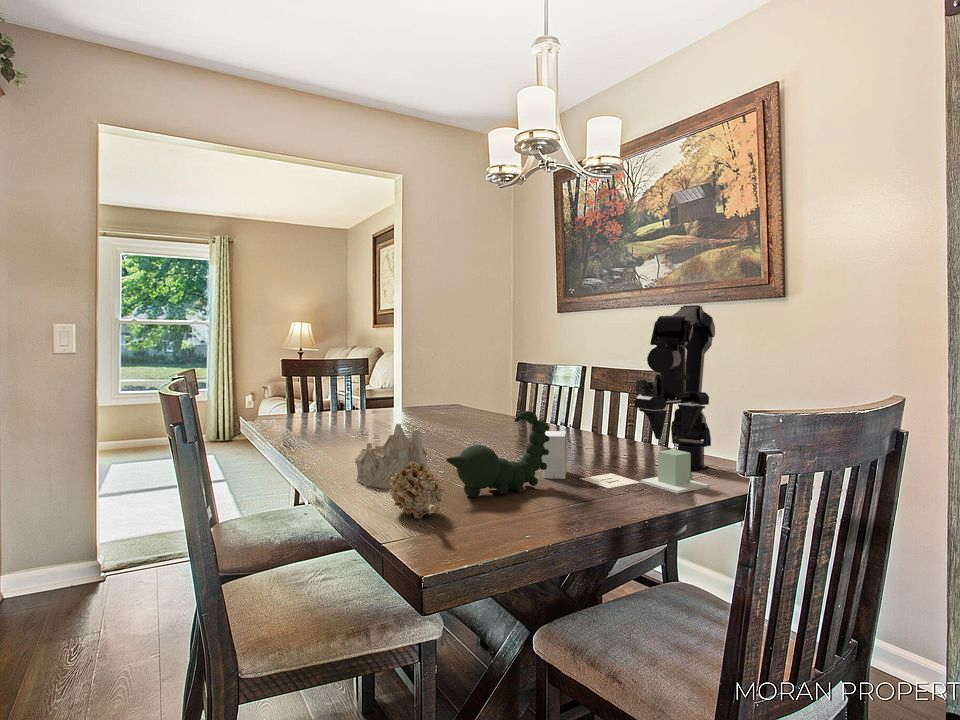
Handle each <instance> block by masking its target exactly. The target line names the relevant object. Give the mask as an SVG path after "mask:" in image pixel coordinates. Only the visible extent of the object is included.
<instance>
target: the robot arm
mask: <svg viewBox="0 0 960 720" xmlns="http://www.w3.org/2000/svg"><path fill="white" fill-rule="evenodd" d="M715 335H716V325H715V322H714V318H713V316H711V315H710V314H708V313H707V312H705V311H704V308H703V306H702V305H698V304H697V305H696V304H695V305H692V304H690V305H689V304H688V305H683V306H680V309H679V310H677V311H676V312H675V313H673V314H672V315H660V316H658V318H657V320H656V321H654V325H653V329H652V334H651V339H650V345H651V346H655V347H653V348H652V349H650V351H649V352H648V354H647V357H646V359H647V360H646V361H647V365H648V367H649V368H650V370H652V371H653V372H655V375H654V380H653V381H649V382H648V381H647V380H646V379H639V380H637V381H636V382H635V392H636V394H637V396H636V397H635V398H634V408H638V410H639V411H640V412H643V414H645V416H646V417H647V418H648V420H649V423H650V426H651V429H652V432H653V434H654V437H655V439H656V440H661V438H662V436H663V431H664V426H665V422H666V417H667V412H668V411H667V410H666V409H665V408H666V406H668V405H677V407H678V408H676V409H675V411H674V415H673V416H674V417H673V420H672V422H671V425H670V431H671V442H672V444H673V445H676V444H677V450H679V451H684V452H689V453H691V468H690V472H693V471H700V470H706V469H709V468H710V466H709V465H706V464H705V448H707V447H711V446H712V437H711V431H710V428H709V425H708V423H707V418H706V417H707V416H705V414H704V412H703V410H704V409H706V406H707V405H708V406H709V405H710V396H709V395H708V394H707V392H705V391H703V377H704V367H705V366H704V365H705V355H706V353H707V352H708V350H709V349H710V348H711V346H712V345H713V338H715V337H716V336H715ZM656 373H657V374H656ZM702 391H703V392H702Z"/></svg>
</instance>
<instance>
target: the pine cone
mask: <svg viewBox="0 0 960 720" xmlns="http://www.w3.org/2000/svg"><path fill="white" fill-rule="evenodd" d="M428 468H429V467H428ZM428 468H426V467H425V465H424V464H423V463H421V465H420V466H419V464H418V463H416V462H412V461H411V462H409V463H408V465H407V467H406V466H405V465H404V468H403V469H402V470H401V472H399V473H396V472H395V477H391V480H392V483H390V485H391V486H392V488H389V490H387V492H388V493H390V496H391V497H390V498H391V499H392V500H393V501H394V506H396V507H399V509H400V510H402V512H403V513H405V514H406V515H407V516H408V515H412V514H413V517H414V519H418V520H419V519H420V520H421V519H422V518H423V517H424V516H425V515H426V514H428V515H430V516H431V515H432V514H437V513H438V512H439V511H440V508H441V507H440V506H441V504H440V503H441V502H442V499H441V498H443V496H444V495H443V494H442V493H440V492H439V491H440V489H441V486H440V481H439V480H438V481H437V479H436V478H435V477H436V476H435V475H436V474H435V473H434V472H432V471H431V470H430V471H431V472H430V471H429V469H428Z"/></svg>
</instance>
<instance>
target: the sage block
mask: <svg viewBox="0 0 960 720" xmlns="http://www.w3.org/2000/svg"><path fill="white" fill-rule="evenodd" d="M657 455H658V458H657V460H658V461H657V464H658V465H657V471H658V472H657V473H658V474H657V477H658V481H659V482H662V483H666V484H669V485H673V486H679V485H684V484H688V483H690V480H691V470H690V468H691V453H689V452H684V451H679V450H678V449H673V448H672V449H667V450H660V451H658V454H657Z"/></svg>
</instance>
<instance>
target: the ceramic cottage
mask: <svg viewBox="0 0 960 720" xmlns="http://www.w3.org/2000/svg"><path fill="white" fill-rule="evenodd" d="M393 431H394V432H393V434H390V435H388V438H387V439H386V441H385V443H384V444H382V445H375V446H374V447H373V446H372V445H373V444H372V443H371V442H366V447H365V448H362V449H361V451H360V452H359V454H358V455H357V457H356V458H355V460H354V463H355V464H356V469H357V475H356V478H355V481H358V482H357V483H359V482H360V483H359V484H361V483H362V485H363V486H365V485H367V486H366V487H372V488H379V489H391V488H392V486H391V485H390V483H392V480H391V477H395V472H396V473H399V472H401V470H402V469H403V468H404V465H405V466H406V467H407V465H408V463H409V462H411V461H412V462H416V463H418V464H419V466H420V465H421V463H423V464H424V465H425V467H426V468H428V469H429V471H430V472H431V473H432V471H431V469H430V467H428V464H427V463H428V460H427V458H426V457H427V455H428V453H427V451H426V450H425V447H423V441H422V438H421V437H422V436H421V431H420V428H413V429H412V431H411V437H410V436H406V434H405V431H404V428H403V427H402V423H396V424H395V426H394V430H393Z"/></svg>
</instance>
